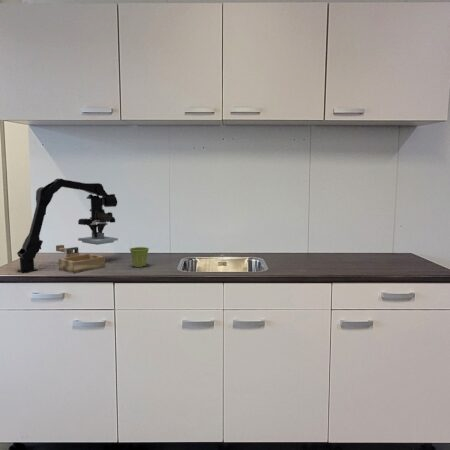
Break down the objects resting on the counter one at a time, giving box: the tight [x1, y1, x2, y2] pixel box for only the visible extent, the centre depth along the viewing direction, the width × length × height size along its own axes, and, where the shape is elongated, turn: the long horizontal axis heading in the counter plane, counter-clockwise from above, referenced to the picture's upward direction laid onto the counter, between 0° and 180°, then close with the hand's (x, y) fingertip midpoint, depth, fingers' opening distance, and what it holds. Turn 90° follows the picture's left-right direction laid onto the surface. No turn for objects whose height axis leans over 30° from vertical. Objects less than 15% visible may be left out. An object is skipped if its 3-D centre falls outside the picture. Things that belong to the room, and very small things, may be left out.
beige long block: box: [55, 244, 74, 254], centre depth 184 cm, size 11×3×3 cm, turn 53°
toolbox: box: [58, 246, 106, 274], centre depth 176 cm, size 16×16×9 cm
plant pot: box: [129, 246, 150, 268], centre depth 180 cm, size 9×9×9 cm
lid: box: [77, 231, 119, 246], centre depth 193 cm, size 13×16×5 cm
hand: (97, 237), depth 193 cm, fingers closed on lid
